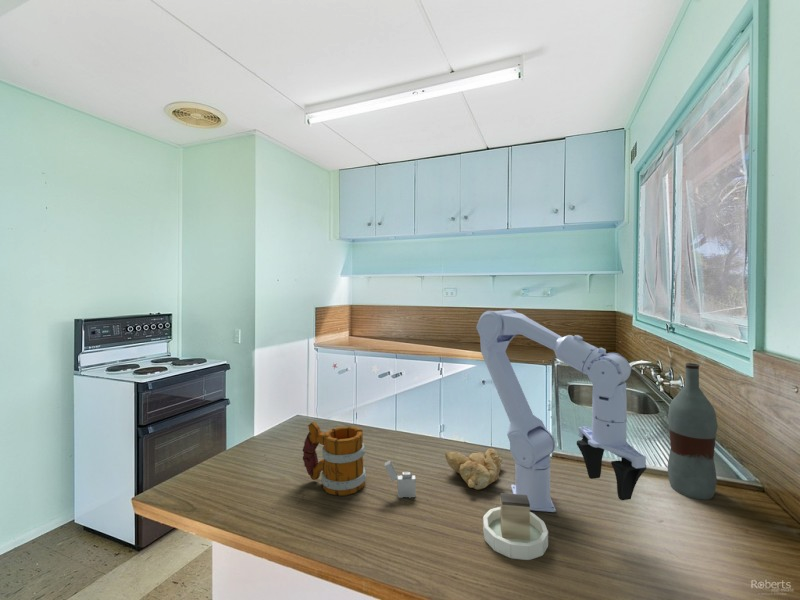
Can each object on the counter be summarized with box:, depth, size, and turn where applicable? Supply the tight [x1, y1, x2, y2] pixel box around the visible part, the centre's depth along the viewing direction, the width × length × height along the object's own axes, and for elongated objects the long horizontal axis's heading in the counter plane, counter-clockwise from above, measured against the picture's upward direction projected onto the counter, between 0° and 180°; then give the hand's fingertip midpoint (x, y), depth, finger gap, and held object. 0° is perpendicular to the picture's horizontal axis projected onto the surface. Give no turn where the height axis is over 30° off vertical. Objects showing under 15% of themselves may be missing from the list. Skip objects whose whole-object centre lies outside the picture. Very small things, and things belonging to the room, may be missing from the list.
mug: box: [302, 421, 367, 497], centre depth 89 cm, size 11×16×15 cm, turn 78°
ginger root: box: [444, 447, 503, 491], centre depth 91 cm, size 16×16×8 cm
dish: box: [482, 506, 549, 561], centre depth 69 cm, size 12×12×2 cm
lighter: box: [384, 460, 417, 499], centre depth 84 cm, size 7×2×8 cm, turn 91°
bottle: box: [667, 362, 718, 500], centre depth 85 cm, size 9×9×30 cm
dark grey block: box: [499, 492, 531, 541], centre depth 69 cm, size 3×5×7 cm, turn 81°
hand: (608, 487), depth 69 cm, fingers open, 7 cm apart
